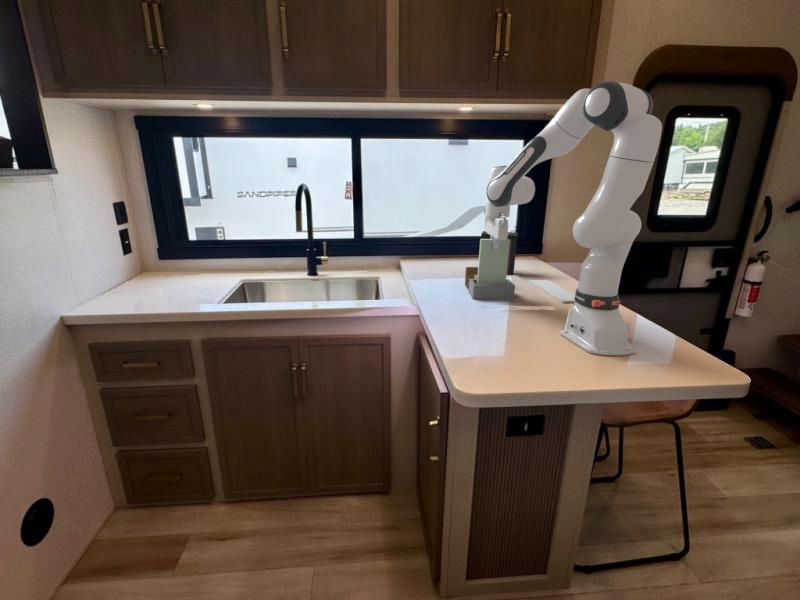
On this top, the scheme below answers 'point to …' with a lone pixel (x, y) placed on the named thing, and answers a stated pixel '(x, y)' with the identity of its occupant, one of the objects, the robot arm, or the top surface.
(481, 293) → the bin
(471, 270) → the rack
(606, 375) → the top surface
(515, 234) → the cleaning product box
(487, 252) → the sheet
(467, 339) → the top surface
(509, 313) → the top surface
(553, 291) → the baseboard molding
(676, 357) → the top surface
